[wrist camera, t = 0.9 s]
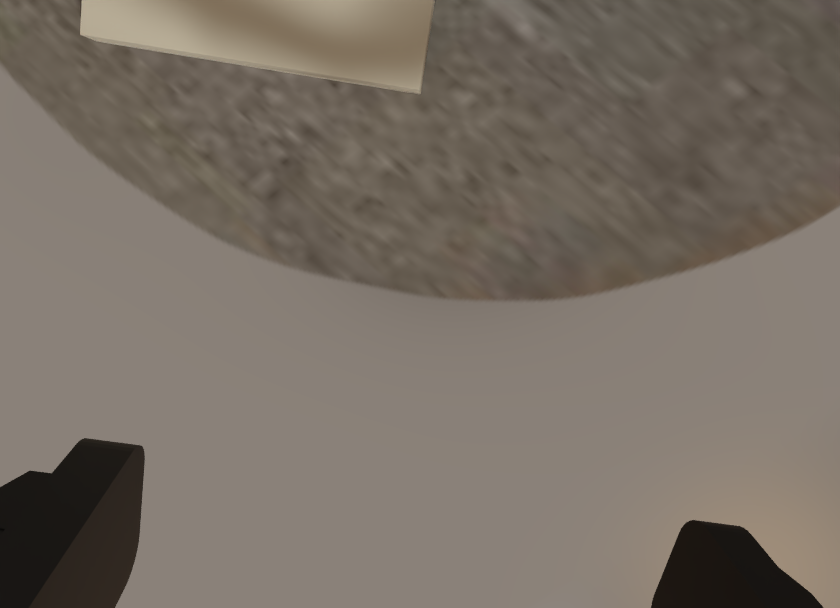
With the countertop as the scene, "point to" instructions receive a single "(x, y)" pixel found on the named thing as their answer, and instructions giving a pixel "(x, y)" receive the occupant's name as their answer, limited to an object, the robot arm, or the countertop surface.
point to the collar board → (279, 35)
